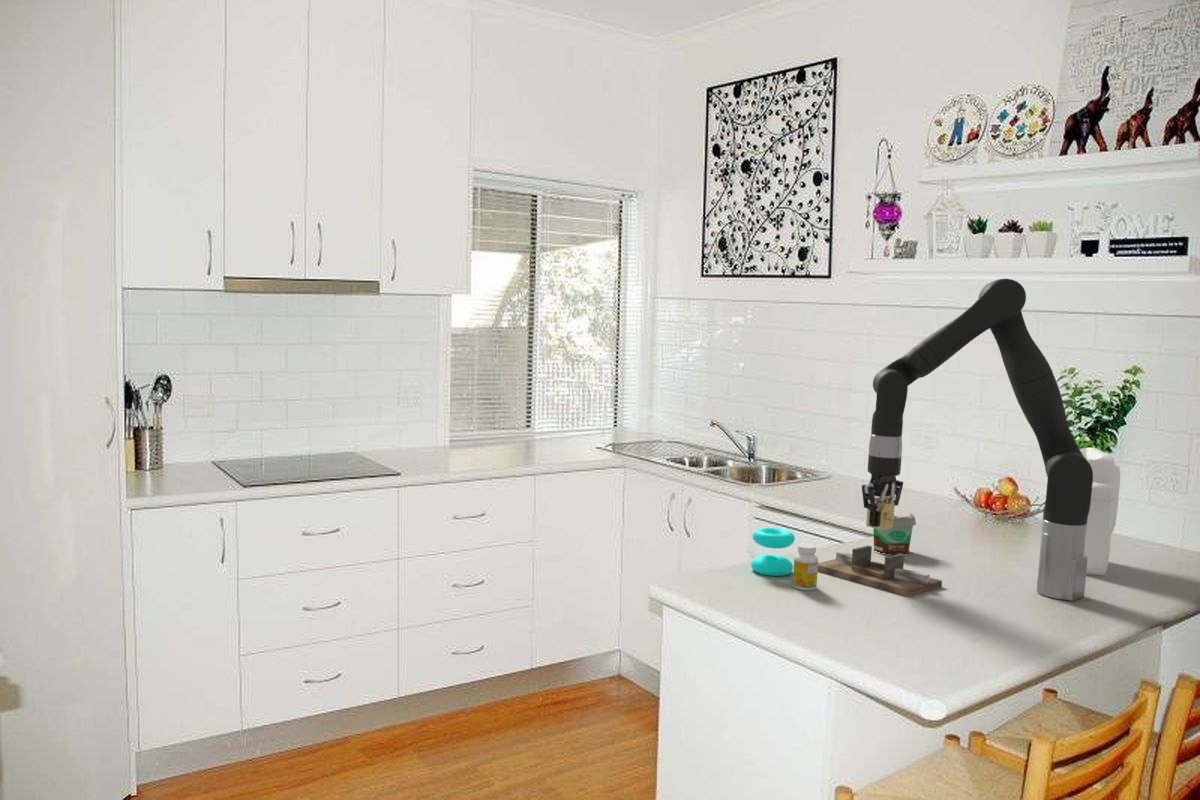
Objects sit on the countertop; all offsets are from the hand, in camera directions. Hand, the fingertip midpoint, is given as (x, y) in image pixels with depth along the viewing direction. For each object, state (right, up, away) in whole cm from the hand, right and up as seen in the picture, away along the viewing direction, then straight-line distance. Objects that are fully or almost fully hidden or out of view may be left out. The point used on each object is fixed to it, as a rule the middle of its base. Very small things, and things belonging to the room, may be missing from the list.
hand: (880, 524), depth 237 cm
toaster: (+59, -13, +21) cm, 64 cm away
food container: (+11, -11, +26) cm, 30 cm away
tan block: (0, -1, 0) cm, 1 cm away
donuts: (-25, -12, +4) cm, 28 cm away
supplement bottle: (-20, -14, -8) cm, 25 cm away
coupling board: (0, -13, +1) cm, 13 cm away
